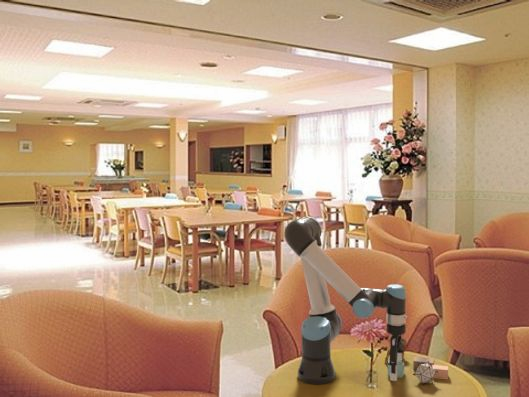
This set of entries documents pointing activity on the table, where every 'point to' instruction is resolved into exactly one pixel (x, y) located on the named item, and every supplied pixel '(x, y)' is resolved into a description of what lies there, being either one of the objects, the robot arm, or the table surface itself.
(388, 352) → the lion figurine
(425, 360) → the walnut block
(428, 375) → the game die
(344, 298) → the robot arm
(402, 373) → the teal block
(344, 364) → the table surface
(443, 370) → the terracotta block
